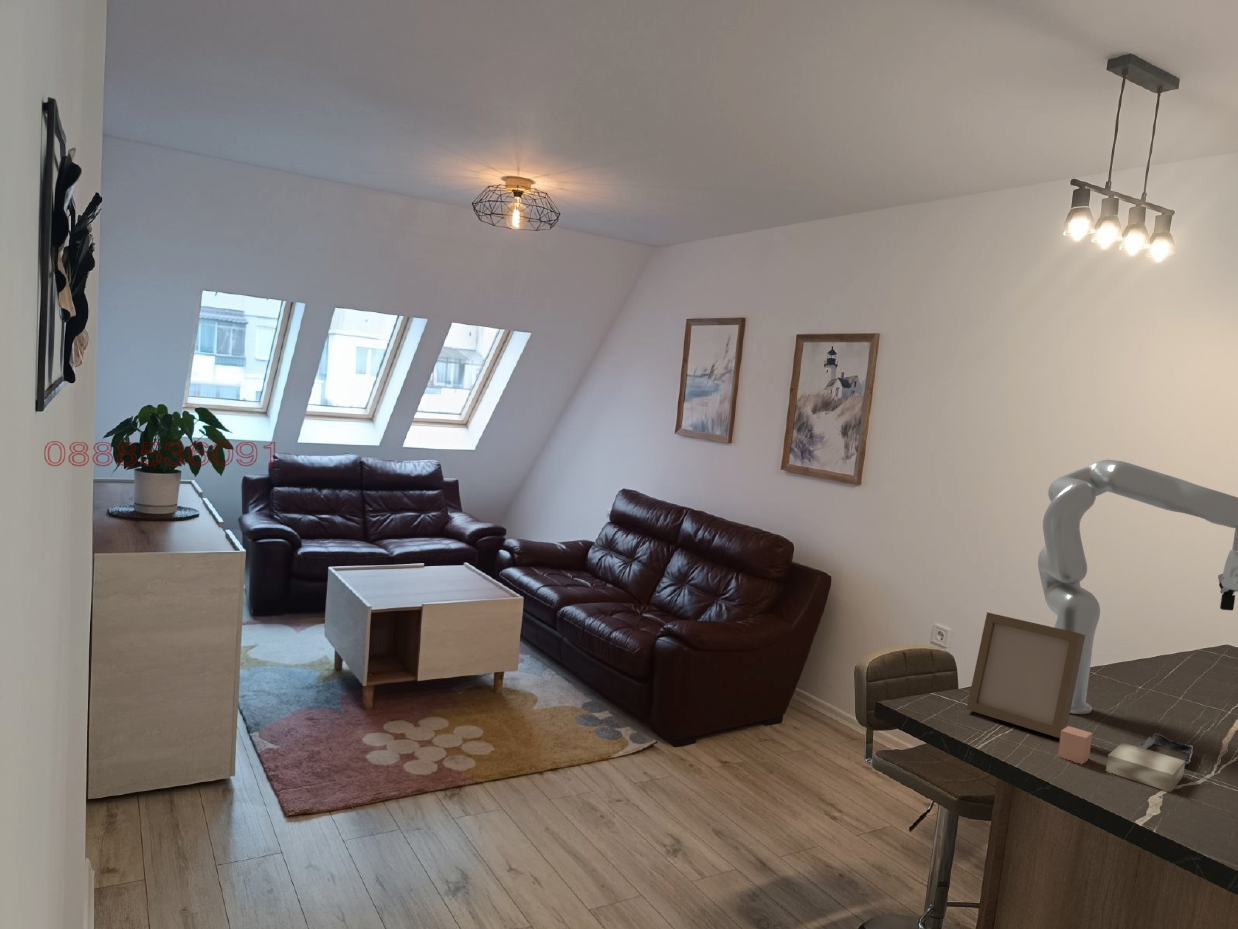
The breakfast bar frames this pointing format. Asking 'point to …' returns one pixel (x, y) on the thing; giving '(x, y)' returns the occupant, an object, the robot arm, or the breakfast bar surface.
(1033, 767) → the breakfast bar surface
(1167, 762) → the birch block
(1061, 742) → the terracotta block
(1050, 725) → the photo frame
